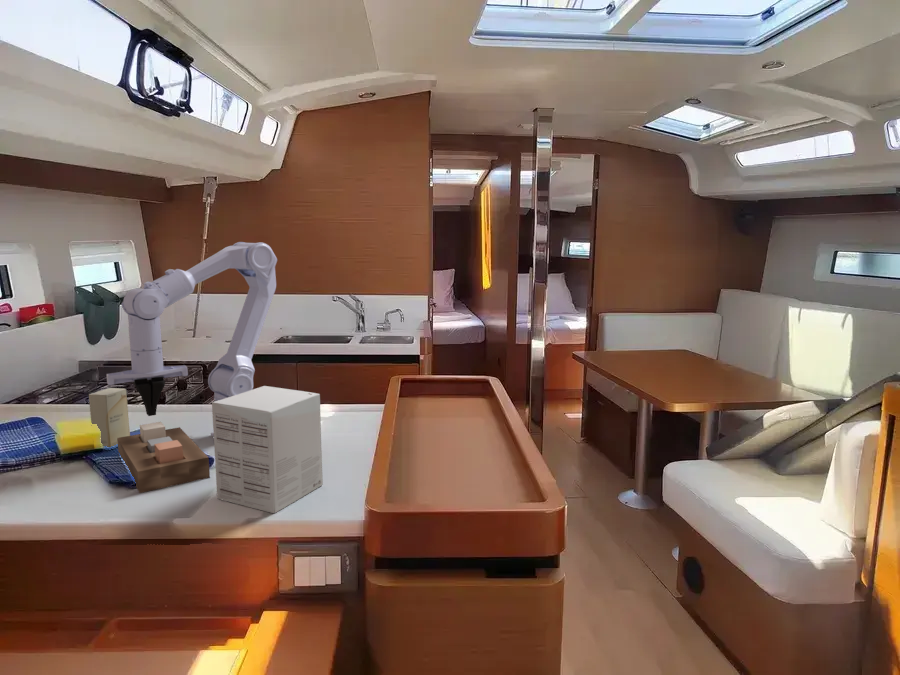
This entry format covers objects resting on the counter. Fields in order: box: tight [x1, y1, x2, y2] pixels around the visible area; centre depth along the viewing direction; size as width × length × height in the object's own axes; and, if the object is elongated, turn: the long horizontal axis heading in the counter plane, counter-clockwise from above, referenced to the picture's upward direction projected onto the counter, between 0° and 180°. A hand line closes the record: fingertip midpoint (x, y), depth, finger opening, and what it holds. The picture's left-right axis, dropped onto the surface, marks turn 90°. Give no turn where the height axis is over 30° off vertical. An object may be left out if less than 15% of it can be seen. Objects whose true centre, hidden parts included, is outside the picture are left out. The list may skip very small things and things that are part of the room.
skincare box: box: [88, 387, 131, 447], centre depth 131 cm, size 6×4×12 cm
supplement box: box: [211, 385, 324, 514], centre depth 107 cm, size 13×13×18 cm
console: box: [117, 426, 211, 494], centre depth 120 cm, size 12×22×4 cm, turn 37°
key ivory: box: [139, 421, 166, 443], centre depth 125 cm, size 4×4×4 cm
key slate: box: [147, 436, 173, 453], centre depth 120 cm, size 4×4×4 cm
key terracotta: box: [154, 440, 183, 464], centre depth 114 cm, size 4×4×4 cm
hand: (151, 414), depth 124 cm, fingers closed
